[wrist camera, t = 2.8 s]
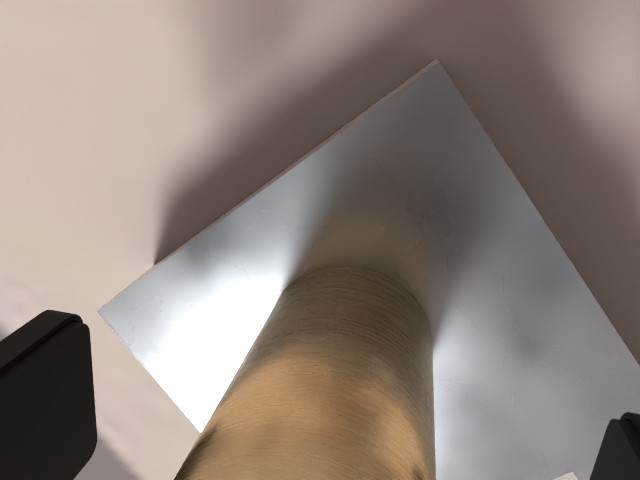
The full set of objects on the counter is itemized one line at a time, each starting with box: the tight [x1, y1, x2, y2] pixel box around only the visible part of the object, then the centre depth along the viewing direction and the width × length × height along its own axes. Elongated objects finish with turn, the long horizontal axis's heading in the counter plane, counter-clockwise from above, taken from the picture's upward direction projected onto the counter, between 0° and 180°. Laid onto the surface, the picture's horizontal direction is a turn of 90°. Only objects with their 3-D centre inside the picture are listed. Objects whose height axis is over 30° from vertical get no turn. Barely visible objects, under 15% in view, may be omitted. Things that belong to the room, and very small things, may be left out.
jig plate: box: [97, 58, 640, 480], centre depth 15 cm, size 16×10×3 cm, turn 37°
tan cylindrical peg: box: [174, 265, 436, 480], centre depth 9 cm, size 4×4×8 cm
